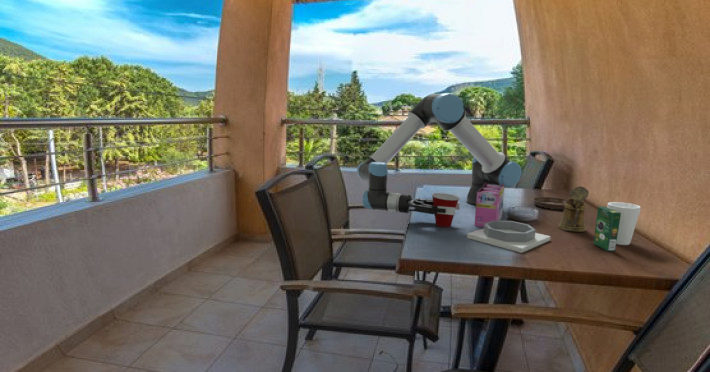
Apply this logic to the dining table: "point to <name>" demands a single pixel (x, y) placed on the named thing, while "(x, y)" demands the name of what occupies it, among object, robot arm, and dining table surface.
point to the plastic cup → (444, 201)
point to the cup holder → (509, 235)
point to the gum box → (489, 204)
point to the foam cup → (625, 220)
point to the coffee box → (607, 228)
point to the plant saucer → (540, 203)
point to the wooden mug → (574, 211)
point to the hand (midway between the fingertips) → (457, 208)
